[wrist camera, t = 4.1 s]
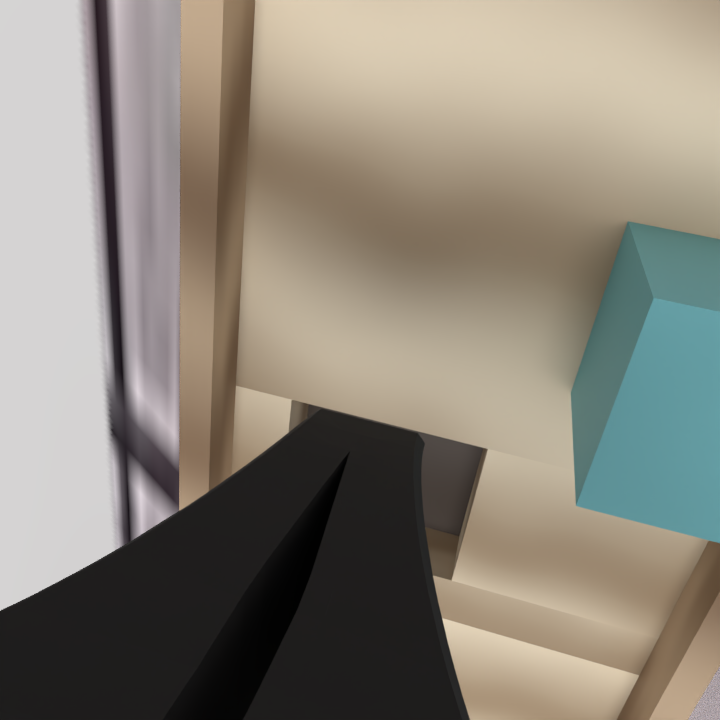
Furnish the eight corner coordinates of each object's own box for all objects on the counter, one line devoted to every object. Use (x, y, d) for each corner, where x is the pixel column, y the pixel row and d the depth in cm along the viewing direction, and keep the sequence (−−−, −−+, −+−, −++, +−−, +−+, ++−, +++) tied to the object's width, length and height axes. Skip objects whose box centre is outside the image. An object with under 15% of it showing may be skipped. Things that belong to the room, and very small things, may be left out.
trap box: (261, -145, 14) (182, -184, 11) (1003, -49, 12) (1156, -65, 9) (222, 635, 25) (178, 721, 22) (596, 750, 23) (602, 862, 20)
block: (628, 221, 14) (654, 297, 10) (845, 263, 13) (952, 361, 9) (570, 393, 15) (576, 506, 12) (758, 437, 15) (819, 569, 11)
